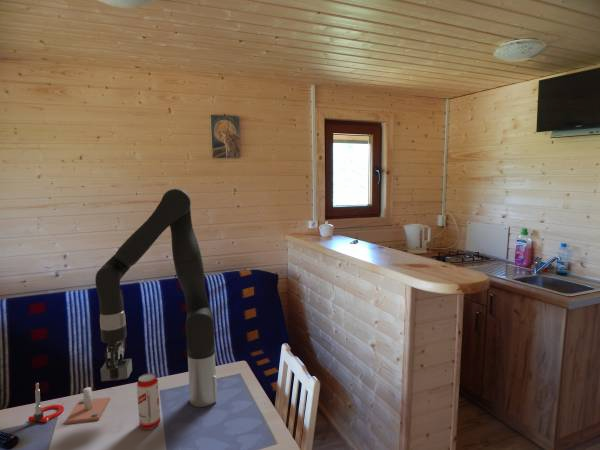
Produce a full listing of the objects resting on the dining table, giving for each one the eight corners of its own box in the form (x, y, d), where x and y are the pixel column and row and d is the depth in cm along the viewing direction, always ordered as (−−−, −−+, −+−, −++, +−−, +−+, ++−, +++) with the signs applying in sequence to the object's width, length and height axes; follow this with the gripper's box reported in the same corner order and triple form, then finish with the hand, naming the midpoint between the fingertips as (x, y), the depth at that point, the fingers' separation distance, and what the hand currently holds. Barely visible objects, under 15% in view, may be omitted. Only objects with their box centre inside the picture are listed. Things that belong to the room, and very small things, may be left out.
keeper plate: (109, 399, 138) (108, 378, 137) (99, 420, 126) (97, 397, 125) (79, 403, 136) (77, 381, 135) (65, 423, 125) (63, 400, 124)
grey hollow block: (132, 369, 131) (131, 358, 131) (127, 378, 126) (126, 366, 125) (107, 372, 130) (106, 361, 130) (101, 381, 124) (100, 369, 124)
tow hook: (48, 406, 135) (25, 421, 126) (46, 371, 134) (23, 383, 125) (69, 408, 134) (48, 424, 125) (68, 372, 133) (46, 385, 124)
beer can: (155, 416, 128) (152, 370, 126) (163, 424, 124) (161, 377, 122) (136, 424, 124) (133, 377, 122) (144, 433, 119) (141, 384, 117)
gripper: (119, 332, 120) (123, 383, 121) (130, 316, 134) (134, 362, 136) (93, 334, 118) (97, 386, 120) (107, 318, 132) (111, 364, 134)
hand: (117, 373), depth 128 cm, fingers closed on grey hollow block, 6 cm apart
